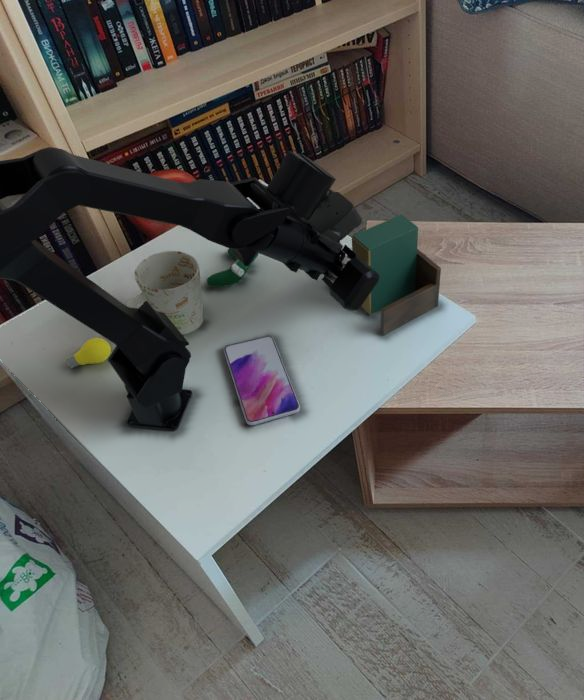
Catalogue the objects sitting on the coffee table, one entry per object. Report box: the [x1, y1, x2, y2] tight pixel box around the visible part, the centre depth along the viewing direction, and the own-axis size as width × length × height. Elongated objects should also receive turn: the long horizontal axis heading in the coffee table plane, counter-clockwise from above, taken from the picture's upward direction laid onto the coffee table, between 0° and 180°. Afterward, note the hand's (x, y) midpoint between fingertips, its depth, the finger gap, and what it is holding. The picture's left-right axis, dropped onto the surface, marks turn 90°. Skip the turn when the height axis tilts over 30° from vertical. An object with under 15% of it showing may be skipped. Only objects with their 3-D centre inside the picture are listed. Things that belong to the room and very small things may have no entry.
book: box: [351, 214, 419, 316], centre depth 103 cm, size 9×4×13 cm, turn 132°
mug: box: [125, 250, 205, 336], centre depth 95 cm, size 8×13×10 cm, turn 146°
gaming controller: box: [206, 248, 260, 288], centre depth 107 cm, size 9×4×6 cm
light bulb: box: [65, 337, 112, 369], centre depth 92 cm, size 3×6×4 cm
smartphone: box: [223, 334, 301, 426], centre depth 93 cm, size 7×1×15 cm
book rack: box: [380, 248, 442, 336], centre depth 105 cm, size 11×14×8 cm
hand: (360, 272), depth 100 cm, fingers closed, pressing on book
